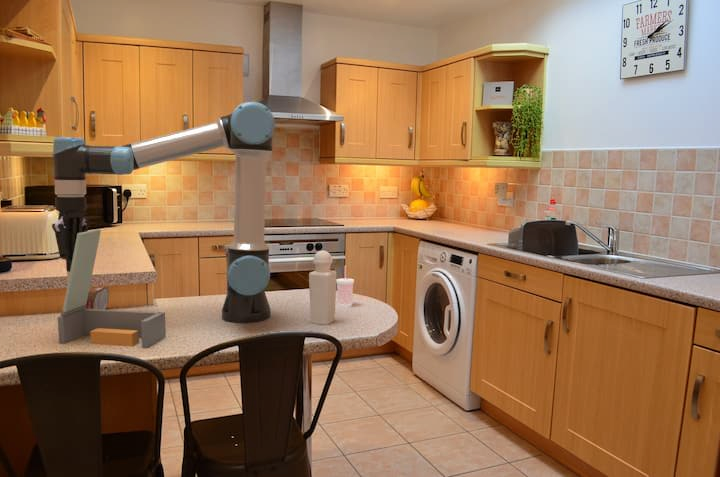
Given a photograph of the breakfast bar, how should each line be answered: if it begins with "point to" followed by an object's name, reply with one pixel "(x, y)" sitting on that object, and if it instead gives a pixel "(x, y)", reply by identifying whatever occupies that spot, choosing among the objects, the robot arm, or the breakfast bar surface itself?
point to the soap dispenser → (322, 289)
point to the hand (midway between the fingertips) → (73, 282)
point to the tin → (98, 298)
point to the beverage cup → (345, 291)
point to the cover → (81, 272)
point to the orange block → (114, 337)
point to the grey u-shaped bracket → (113, 324)
